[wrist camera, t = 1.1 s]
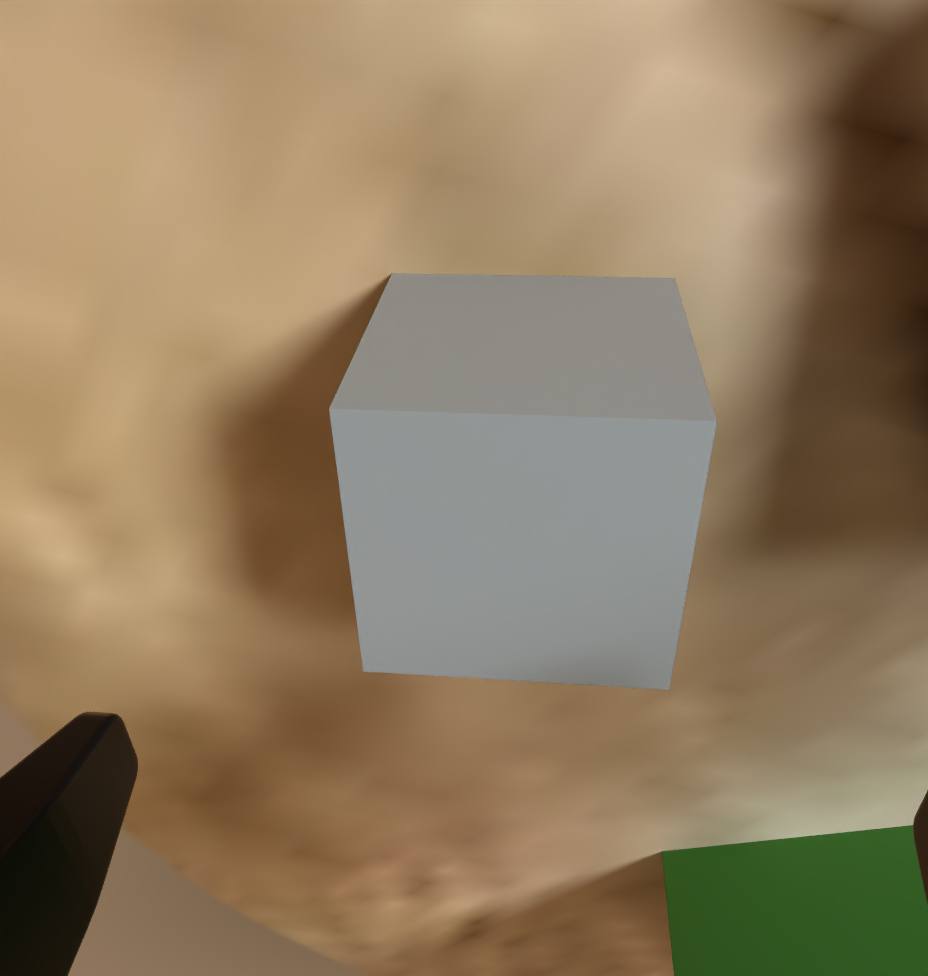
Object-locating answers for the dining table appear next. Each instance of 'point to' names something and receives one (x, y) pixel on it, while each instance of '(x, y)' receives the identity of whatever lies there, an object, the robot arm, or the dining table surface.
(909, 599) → the dining table surface
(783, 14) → the dining table surface
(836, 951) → the hardback book
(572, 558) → the slate cube
